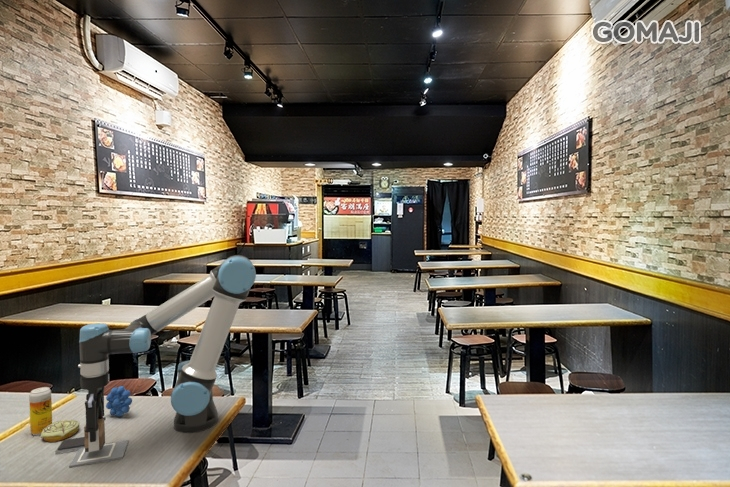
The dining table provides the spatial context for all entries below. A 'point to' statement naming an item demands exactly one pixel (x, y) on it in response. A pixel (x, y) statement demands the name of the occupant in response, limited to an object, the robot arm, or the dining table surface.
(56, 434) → the decorated donut
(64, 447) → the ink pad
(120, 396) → the grapes
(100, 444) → the brown wooden block
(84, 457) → the board
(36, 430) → the beer can
